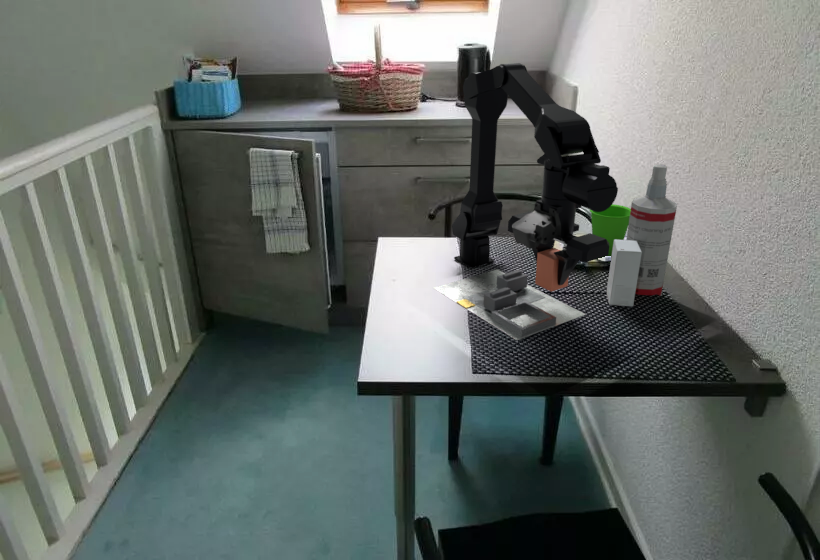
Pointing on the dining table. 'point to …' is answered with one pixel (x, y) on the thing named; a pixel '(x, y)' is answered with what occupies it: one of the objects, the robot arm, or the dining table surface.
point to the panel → (516, 319)
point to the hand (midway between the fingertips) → (551, 280)
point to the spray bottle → (652, 232)
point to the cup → (611, 224)
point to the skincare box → (623, 272)
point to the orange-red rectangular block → (548, 270)
